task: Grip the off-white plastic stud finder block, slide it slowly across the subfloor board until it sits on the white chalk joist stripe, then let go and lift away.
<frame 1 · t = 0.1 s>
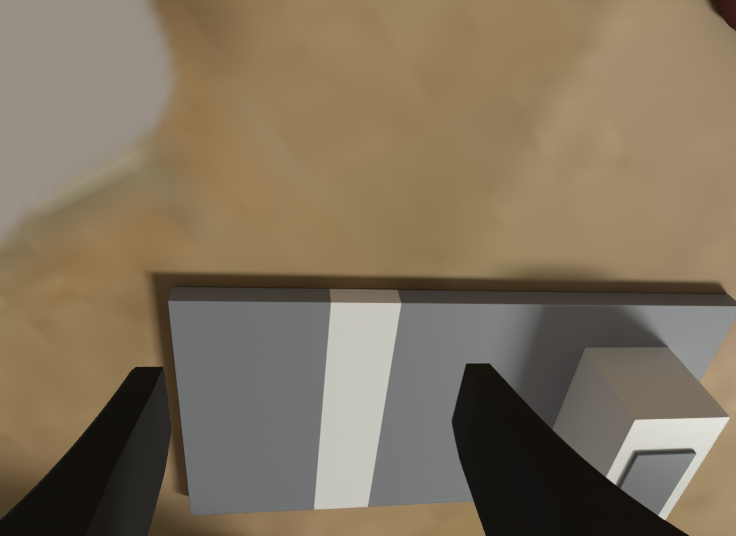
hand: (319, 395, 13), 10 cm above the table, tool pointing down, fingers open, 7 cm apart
subfloor board: (446, 402, 29), on the table
stud finder: (597, 413, 29), point 1 cm above the table, touching subfloor board
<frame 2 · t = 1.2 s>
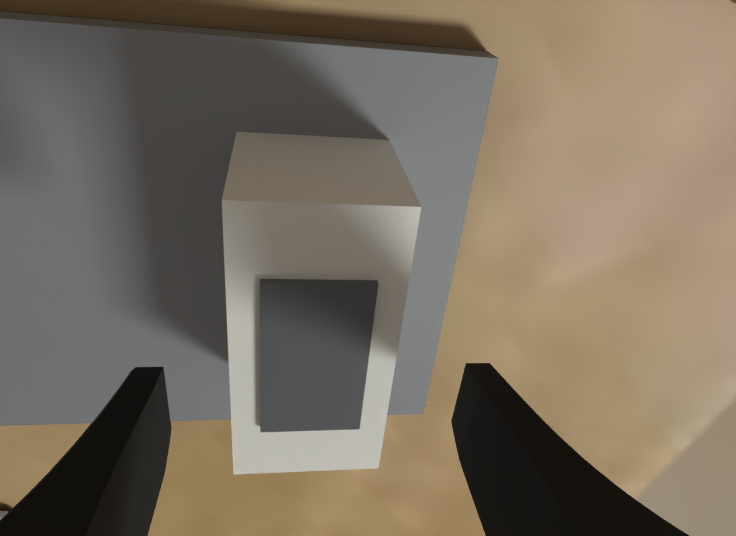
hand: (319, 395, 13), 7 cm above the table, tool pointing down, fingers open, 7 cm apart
subfloor board: (57, 247, 18), on the table
stud finder: (308, 267, 18), point 1 cm above the table, touching subfloor board
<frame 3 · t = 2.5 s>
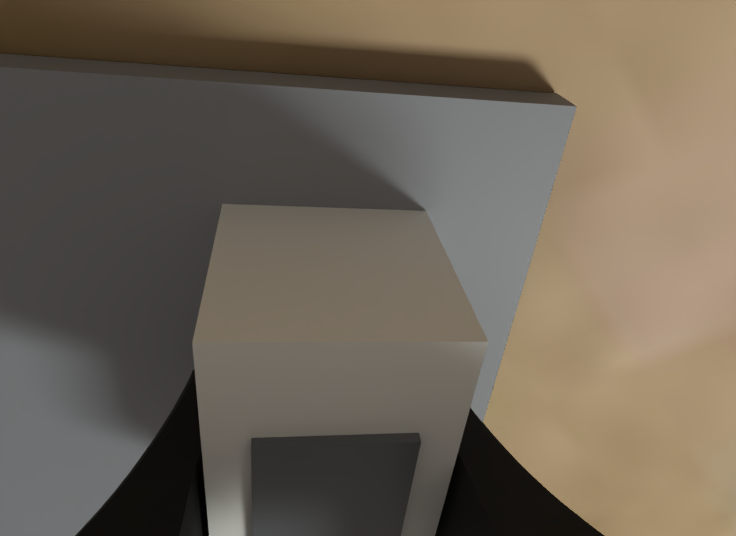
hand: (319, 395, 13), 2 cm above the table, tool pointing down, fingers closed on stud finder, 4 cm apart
stud finder: (316, 364, 14), point 1 cm above the table, touching gripper, subfloor board
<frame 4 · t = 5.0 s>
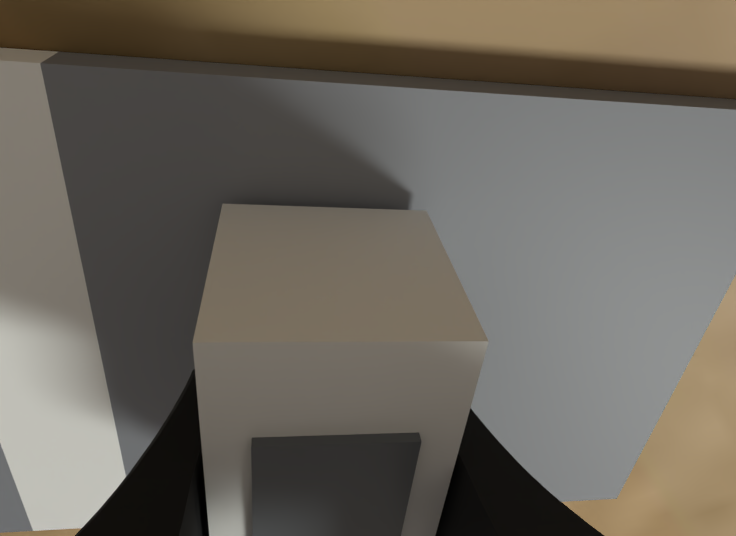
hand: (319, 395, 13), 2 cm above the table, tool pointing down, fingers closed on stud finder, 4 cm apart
subfloor board: (247, 330, 15), on the table
stud finder: (316, 364, 14), point 1 cm above the table, touching gripper
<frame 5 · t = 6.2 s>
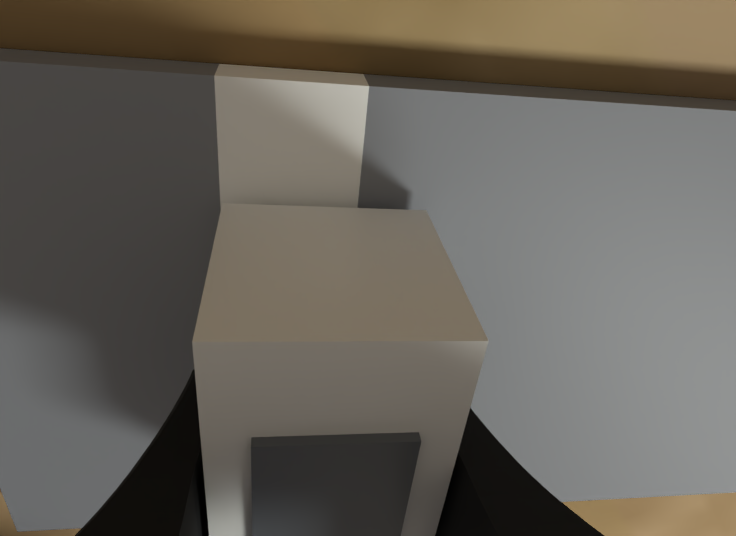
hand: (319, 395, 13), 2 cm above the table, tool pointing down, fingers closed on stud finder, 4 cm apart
subfloor board: (459, 329, 16), on the table
stud finder: (316, 364, 14), point 1 cm above the table, touching gripper
when the fingers open (2 cm above the table, at t = 7.4 s): stud finder stays where it is, resting on subfloor board.
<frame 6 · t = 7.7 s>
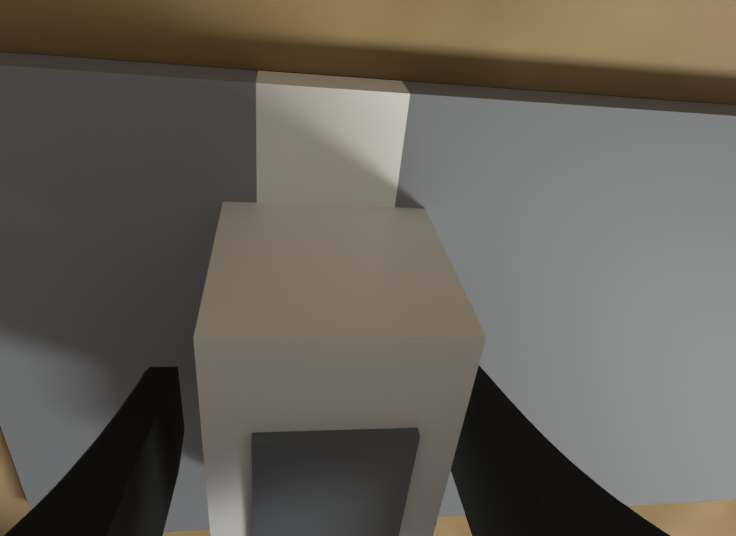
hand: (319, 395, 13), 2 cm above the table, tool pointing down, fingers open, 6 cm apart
subfloor board: (488, 336, 16), on the table
stud finder: (316, 361, 14), point 1 cm above the table, touching subfloor board
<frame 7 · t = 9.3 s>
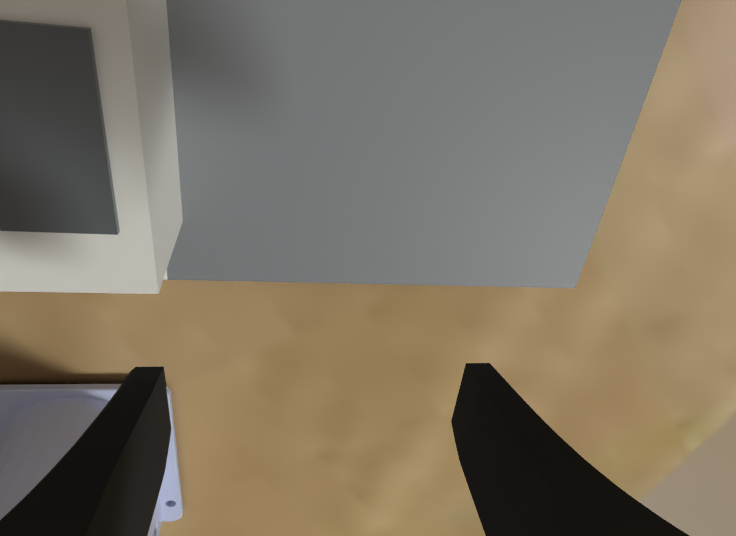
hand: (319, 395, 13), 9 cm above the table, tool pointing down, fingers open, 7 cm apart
subfloor board: (265, 90, 18), on the table
stud finder: (97, 86, 17), point 1 cm above the table, touching subfloor board
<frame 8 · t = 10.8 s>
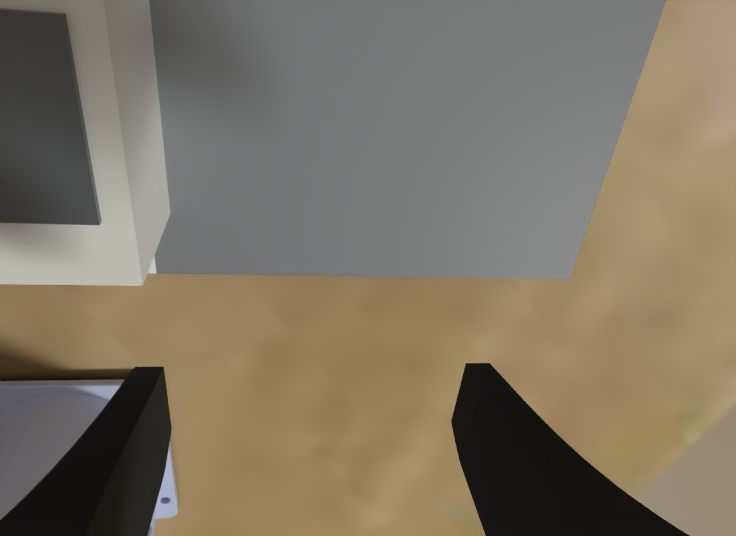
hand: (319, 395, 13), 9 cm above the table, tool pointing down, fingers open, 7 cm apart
subfloor board: (251, 80, 18), on the table
stud finder: (80, 77, 17), point 1 cm above the table, touching subfloor board
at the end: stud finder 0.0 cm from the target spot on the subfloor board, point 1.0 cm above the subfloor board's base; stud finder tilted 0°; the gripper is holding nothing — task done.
